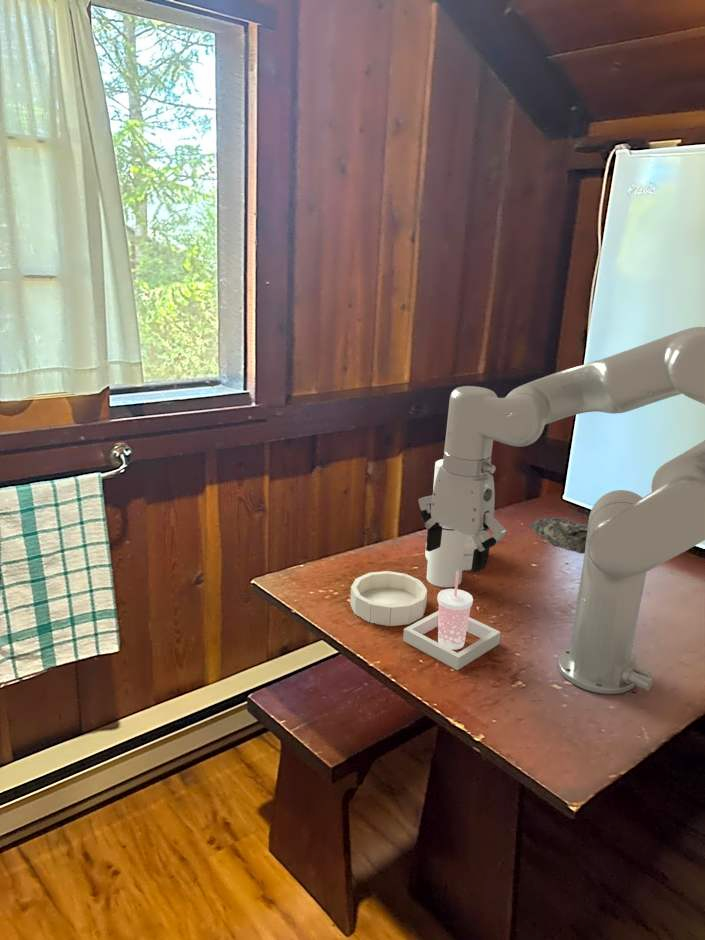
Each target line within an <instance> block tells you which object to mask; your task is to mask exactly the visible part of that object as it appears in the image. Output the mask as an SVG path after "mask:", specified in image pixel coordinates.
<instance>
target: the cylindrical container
mask: <svg viewBox="0 0 705 940" xmlns="http://www.w3.org/2000/svg"><path fill="white" fill-rule="evenodd" d="M442 465H443V458H441V459H439V460H436V461H435V463H434V474H433V476H434V477H433V488H432V490H434V485H435V481H436V478H437V474H438V471H439V469H440V467H441V466H442ZM439 525H440V526H442V536H441V545H440V547H439V548H437V549H435V550H432V551H429V552H428V560H427V567H426V581H427V582H428V583H430V584H431V585H433V586H436V587H439V588H453V587H454V588H455V579H456V570H459V577H458V586H459V585H460V584H461V583H462V579H463V578H462V577H463V571H462V568H463V557H464V547H465V536H466V534H463V533H461V532H458V531H456V530H453V529H451V528H449V527H446V526H444V525H441V524H439Z"/></svg>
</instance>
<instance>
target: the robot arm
mask: <svg viewBox="0 0 705 940" xmlns="http://www.w3.org/2000/svg"><path fill="white" fill-rule="evenodd" d="M679 395H684V397H687V398H689V399H692V400H693V401H696V402H698V403H700V404H702V405H705V326H696V327H695V326H694V327H690V328H687V329H686V328H685V329H683V330H680V331H677V332H674V333H670V334H669V335H666V336H663V337H661V338H660V337H659V338H658V339H654V340H652V341H649V342H647V343H644V344H641V345H639V346H636V347H633V348H630V349H628V350H624V351H621V352H619V353H616V354H613V355H610V356H607V357H604V358H602V359H598V360H595V361H590V362H588V363H585V364H581V365H578V366H574V367H571V368H567V369H564V370H561V371H558V372H555V373H554V372H553V373H552V374H549V375H546V376H544V377H541V378H537V379H535V380H532V381H530V382H527V383H525V384H522V385H519V386H517V387H516V388H513V389H512V390H511V391H510V392H509V393H508V394H507V395H506V396H504V397H498V395H497V394H496V393H495V391H493V390H492V389H489V388H486V387H481V386H474V385H463V386H458V387H456V388H454V389H453V390H452V392H451V393H450V396H449V403H448V412H447V420H446V421H447V423H446V432H445V440H444V450H443V458H442V459H443V465H442V466H441V467H440V469H439V471H438V474H437V478H436V481H435V485H434V484H433V486H434V490H433V489H432V490H433V491H432V495H428V496H423V497H420V498H418V500H417V501H418V504H419V505H418V506H419V508H420V509H419V510H421V512H420V515H421V517H422V519H423V520H424V527H425V528H426V530H427V531H426V532H427V533H426V539H427V540H426V542H427V545H426V544H425V551H426V550H427V551H432V550H435V549H437V548H439V547H440V545H441V536H442V526H440V525H439V524H441V525H444V526H446V527H449V528H451V529H453V530H456V531H458V532H461V533H463V534H466V535H468V536H472V538H473V540H474V542H475V544H476V546H477V549H475V550H474V553H473V561H472V570H471V572H473V573H477V572H479V571H481V570H483V569H485V568H486V566H487V565H488V561H489V560H488V559H489V553H490V549H491V548H492V547H494V546H495V545H497V544H499V543H500V542H501V540H502V539H503V538H504V536H505V534H506V533H507V530H506V528H505V527H504V526H503V525H502V524H501V522H499V521H498V520H497V519H496V518H495V517H494V516H495V503H496V502H495V500H496V499H495V498H496V497H495V496H496V492H495V482H494V475H492V474H494V473H495V472H496V468H497V467H496V465H494V464H492V453H493V452H492V451H493V444H494V441H496V442H499V443H500V444H505V445H508V446H510V447H511V446H513V447H520V448H521V447H527V446H529V445H531V444H532V445H533V444H534V443H535V442H537V440H538V439H540V437H541V436H542V434H543V431H544V428H545V425H548V424H551V423H554V422H556V421H560V420H562V419H565V418H568V417H572V416H576V415H580V414H585V413H593V412H596V413H597V412H598V413H599V412H601V413H607V414H614V415H615V414H623V413H624V414H625V413H627V412H631V411H634V410H636V409H637V410H638V409H639V408H642V407H646V406H648V405H651V404H653V403H654V404H655V403H657V402H661V401H663V400H667V399H669V398H673V397H676V396H679ZM651 482H652V483H651V492H650V493H648V494H647V495H645V496H641V495H639V494H638V493H636V492H633V491H632V490H631V491H630V490H626V489H625V490H624V489H620V490H619V489H617V490H612V491H609V492H607V493H605V494H604V495H602V496H601V497H599V498H598V500H596V502H595V503H594V504H593V506H592V508H591V510H590V513H589V516H588V522H587V523H588V524H587V525H588V530H587V539H586V546H585V553H583V555H584V557H583V561H582V562H583V563H582V569H581V576H580V582H579V587H578V593H577V594H578V595H577V601H576V606H575V614H574V621H573V627H572V633H571V640H570V646H569V647H568V648H566V649H565V650H563V651H562V652H561V653H560V655H559V657H558V662H557V667H558V670H559V672H560V673H561V675H562V676H563V677H564V678H565V679H566V680H568V681H569V682H570V683H572V684H573V685H574V686H577V687H579V688H581V689H583V690H586V691H589V692H593V693H597V694H604V695H616V694H623V693H625V692H628V691H630V690H632V689H633V688H634V687H635V686H636V687H637V688H641V689H643V690H644V691H647V692H648V691H650V689H651V688H652V685H653V683H654V681H653V679H652V678H651V677H652V671H650V670H648V669H645V667H644V668H643V667H641V666H639V664H638V663H637V657H638V654H636V653H634V652H632V650H633V647H634V643H635V642H634V641H635V636H636V635H635V634H636V630H637V626H638V625H637V624H638V620H639V619H638V618H639V613H640V609H641V608H640V607H641V602H642V598H643V595H644V594H643V593H644V589H645V583H646V577H647V572H649V571H651V570H653V569H655V568H656V567H658V566H661V565H663V564H664V563H666V562H668V561H670V560H671V559H673V558H675V557H678V556H679V555H680V554H682V553H685V552H686V551H688V550H690V549H692V548H694V547H696V546H697V545H700V544H701V543H703V542H704V541H705V440H703V441H701V442H699V443H697V444H695V445H694V446H692V447H691V448H689V449H688V450H686V451H684V452H683V453H681V454H679V455H677V456H675V457H674V458H672V459H671V460H669V461H667V462H665V463H664V464H662V465H661V466H660V467H659V468H658V469H657V470H656V471H655V472H654V475H653V477H652V481H651ZM490 531H492V535H491V536H490V534H489V532H490ZM480 534H481V537H482V539H483V541H484V542H483V541H482V539H481V537H480ZM426 542H425V543H426Z"/></svg>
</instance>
